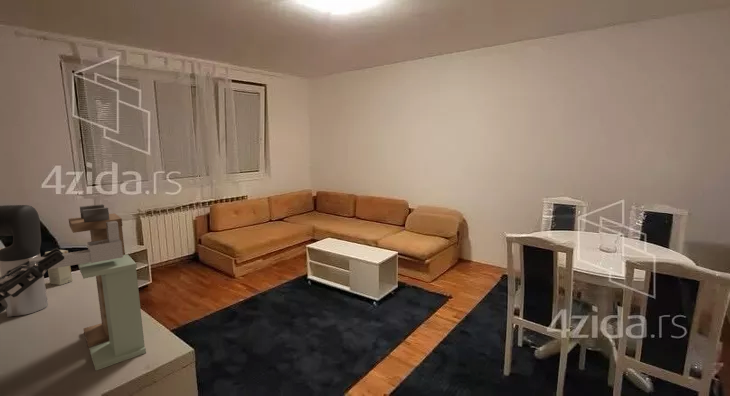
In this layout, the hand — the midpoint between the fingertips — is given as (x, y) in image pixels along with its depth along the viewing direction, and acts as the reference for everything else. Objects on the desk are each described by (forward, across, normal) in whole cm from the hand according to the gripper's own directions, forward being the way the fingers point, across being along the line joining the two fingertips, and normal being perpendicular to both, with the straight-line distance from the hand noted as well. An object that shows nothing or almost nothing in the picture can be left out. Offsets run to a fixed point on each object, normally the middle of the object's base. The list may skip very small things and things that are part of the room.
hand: (60, 253), depth 77 cm
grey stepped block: (+1, 0, +4) cm, 4 cm away
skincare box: (-13, +70, +24) cm, 75 cm away
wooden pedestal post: (-7, +13, +28) cm, 31 cm away
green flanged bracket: (-7, 0, +28) cm, 28 cm away
